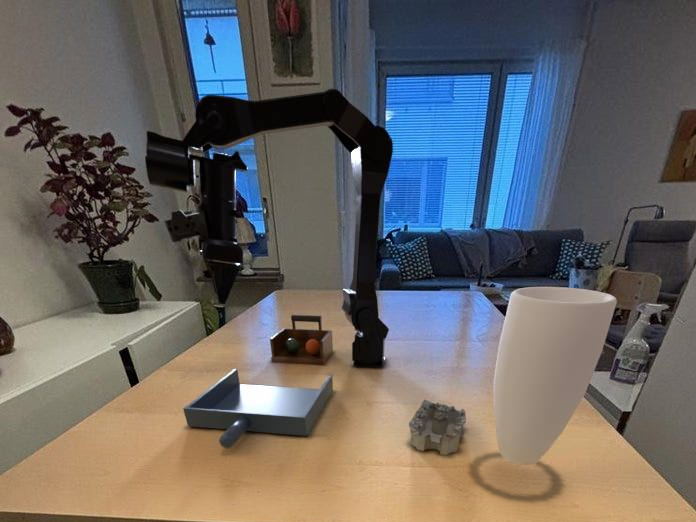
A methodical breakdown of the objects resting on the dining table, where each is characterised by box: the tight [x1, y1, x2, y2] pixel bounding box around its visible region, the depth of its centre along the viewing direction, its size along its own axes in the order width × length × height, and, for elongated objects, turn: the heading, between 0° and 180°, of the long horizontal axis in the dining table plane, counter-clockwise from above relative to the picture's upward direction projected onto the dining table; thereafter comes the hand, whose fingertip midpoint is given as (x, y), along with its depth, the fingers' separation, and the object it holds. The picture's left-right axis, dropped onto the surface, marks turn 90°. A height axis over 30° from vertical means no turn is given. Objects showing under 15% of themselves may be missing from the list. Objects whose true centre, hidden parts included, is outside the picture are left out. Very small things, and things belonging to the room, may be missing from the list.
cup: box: [493, 286, 618, 466], centre depth 45 cm, size 10×10×22 cm
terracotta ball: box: [306, 339, 320, 355], centre depth 91 cm, size 3×3×3 cm
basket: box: [269, 314, 334, 366], centre depth 90 cm, size 12×10×8 cm
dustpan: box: [183, 368, 334, 449], centre depth 64 cm, size 26×19×3 cm
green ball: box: [285, 338, 300, 354], centre depth 91 cm, size 3×3×3 cm
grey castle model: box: [408, 399, 467, 456], centre depth 59 cm, size 11×8×4 cm
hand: (219, 298), depth 74 cm, fingers open, 9 cm apart
